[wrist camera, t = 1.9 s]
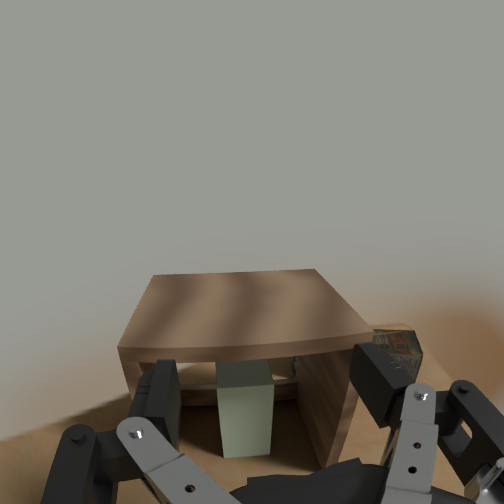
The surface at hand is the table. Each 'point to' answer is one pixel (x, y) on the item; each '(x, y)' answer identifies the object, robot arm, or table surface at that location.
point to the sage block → (245, 407)
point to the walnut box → (254, 340)
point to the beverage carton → (393, 350)
